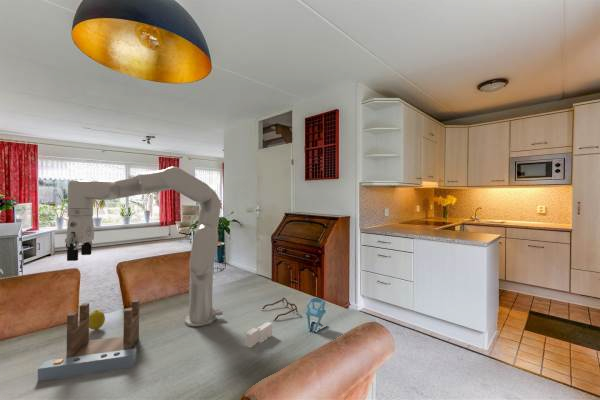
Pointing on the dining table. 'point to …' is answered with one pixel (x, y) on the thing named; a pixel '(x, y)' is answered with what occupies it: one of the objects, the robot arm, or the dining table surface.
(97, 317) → the lemon
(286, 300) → the glasses
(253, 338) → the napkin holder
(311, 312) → the chair
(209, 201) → the robot arm
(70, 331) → the rack
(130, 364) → the power strip
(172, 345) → the dining table surface
